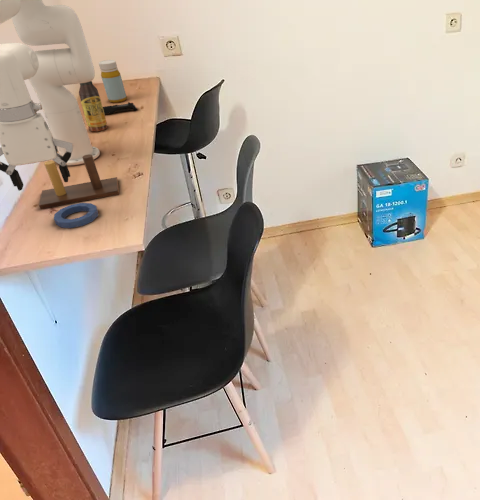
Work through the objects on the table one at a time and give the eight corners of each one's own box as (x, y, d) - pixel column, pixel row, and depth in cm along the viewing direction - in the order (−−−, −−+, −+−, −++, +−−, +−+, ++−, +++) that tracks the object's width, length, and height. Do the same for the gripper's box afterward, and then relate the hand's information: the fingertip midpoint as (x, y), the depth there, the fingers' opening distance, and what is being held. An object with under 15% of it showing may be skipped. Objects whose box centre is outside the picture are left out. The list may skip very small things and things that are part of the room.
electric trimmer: (93, 115, 192) (90, 106, 190) (136, 108, 196) (134, 99, 195) (93, 118, 189) (90, 109, 187) (137, 110, 193) (135, 102, 192)
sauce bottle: (92, 134, 174) (73, 74, 163) (86, 129, 178) (67, 71, 167) (111, 129, 178) (94, 70, 167) (105, 124, 182) (88, 67, 171)
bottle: (114, 97, 208) (103, 59, 200) (130, 97, 207) (120, 59, 199) (105, 103, 203) (93, 64, 194) (121, 103, 202) (110, 64, 193)
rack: (43, 194, 138) (29, 159, 132) (118, 180, 143) (107, 146, 138) (40, 209, 131) (25, 173, 125) (119, 194, 137) (107, 159, 131)
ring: (57, 213, 129) (55, 207, 128) (98, 205, 132) (96, 199, 131) (55, 231, 121) (52, 225, 121) (98, 222, 124) (96, 217, 123)
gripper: (60, 101, 115) (84, 171, 125) (-27, 113, 110) (5, 184, 120) (58, 111, 110) (83, 183, 119) (-35, 123, 104) (-1, 198, 114)
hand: (44, 184), depth 119 cm, fingers open, 9 cm apart
